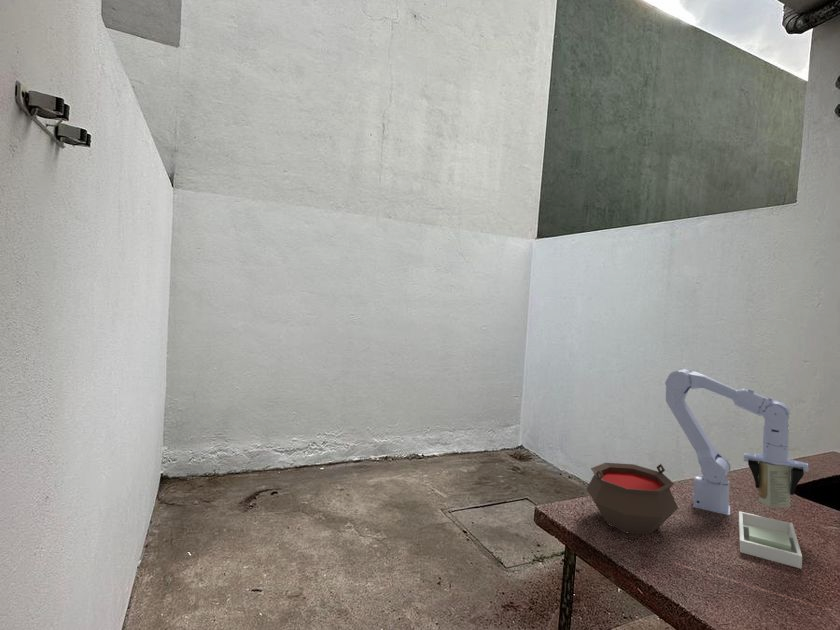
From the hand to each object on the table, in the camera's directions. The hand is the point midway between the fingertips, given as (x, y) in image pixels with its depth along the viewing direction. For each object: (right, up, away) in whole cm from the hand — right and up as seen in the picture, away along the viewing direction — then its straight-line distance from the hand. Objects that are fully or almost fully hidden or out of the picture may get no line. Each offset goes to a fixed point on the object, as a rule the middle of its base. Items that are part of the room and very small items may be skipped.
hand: (774, 490), depth 129 cm
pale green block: (-13, -10, -15) cm, 22 cm away
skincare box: (0, -4, 0) cm, 4 cm away
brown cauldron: (-42, -10, 0) cm, 43 cm away
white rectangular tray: (-10, -10, -11) cm, 18 cm away
